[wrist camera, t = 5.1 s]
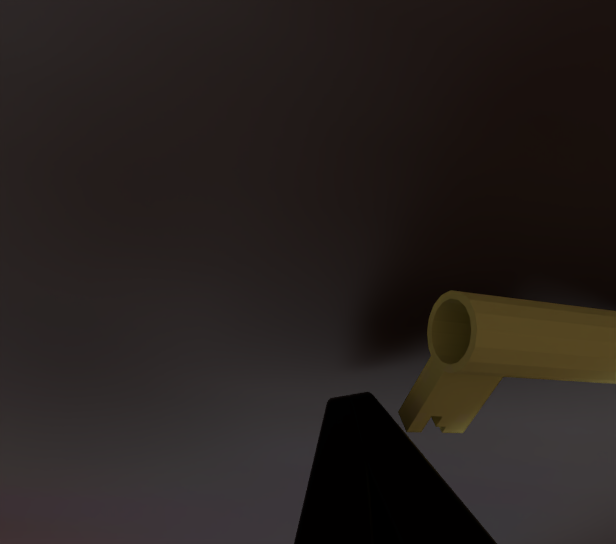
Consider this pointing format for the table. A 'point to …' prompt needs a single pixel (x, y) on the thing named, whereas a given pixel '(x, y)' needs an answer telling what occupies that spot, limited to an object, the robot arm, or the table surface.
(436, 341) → the key
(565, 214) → the table surface
